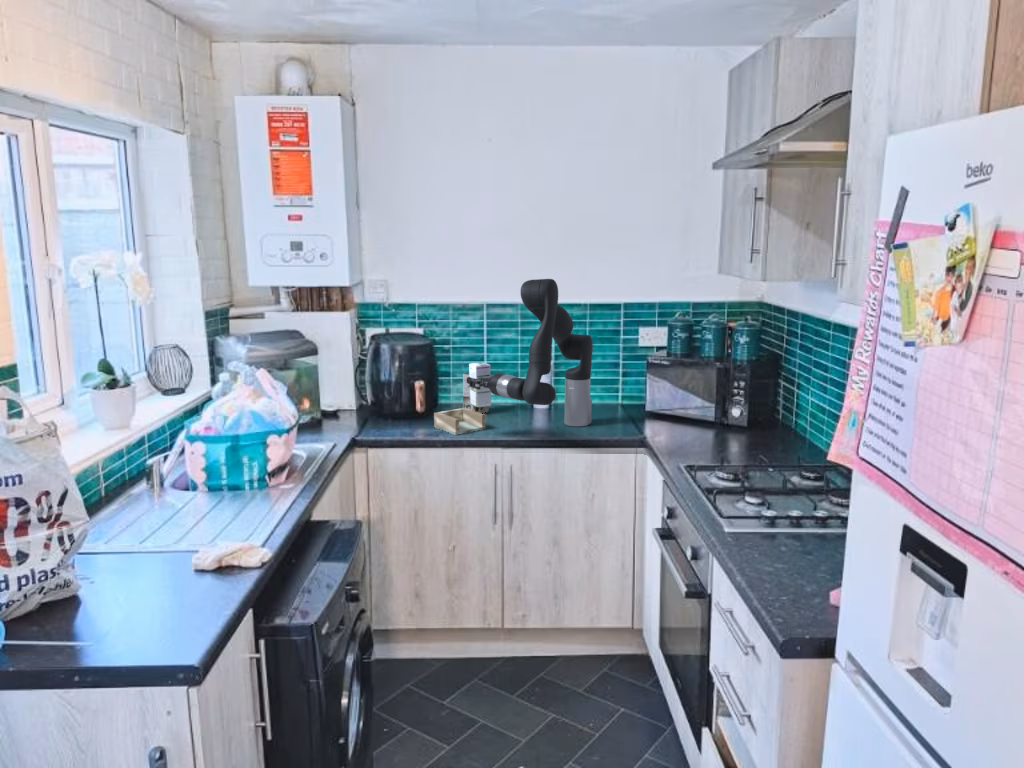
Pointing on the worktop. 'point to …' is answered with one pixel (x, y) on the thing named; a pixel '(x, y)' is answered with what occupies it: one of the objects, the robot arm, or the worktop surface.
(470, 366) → the syrup box
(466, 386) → the coffee box
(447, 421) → the cubby
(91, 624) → the worktop surface
